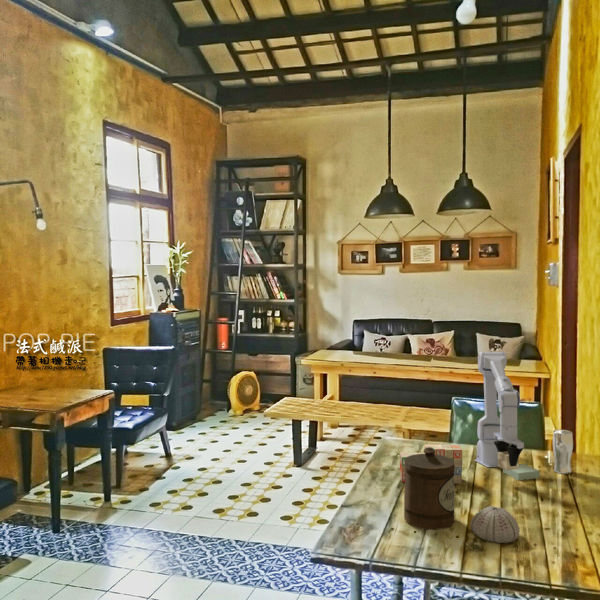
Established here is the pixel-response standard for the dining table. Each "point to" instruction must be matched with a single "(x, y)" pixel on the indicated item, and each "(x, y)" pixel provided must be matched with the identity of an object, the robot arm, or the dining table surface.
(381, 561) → the dining table surface
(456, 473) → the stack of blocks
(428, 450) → the wooden container
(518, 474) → the green slab
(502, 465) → the ash cube
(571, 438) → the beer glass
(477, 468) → the dining table surface
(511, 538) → the sea urchin shell
